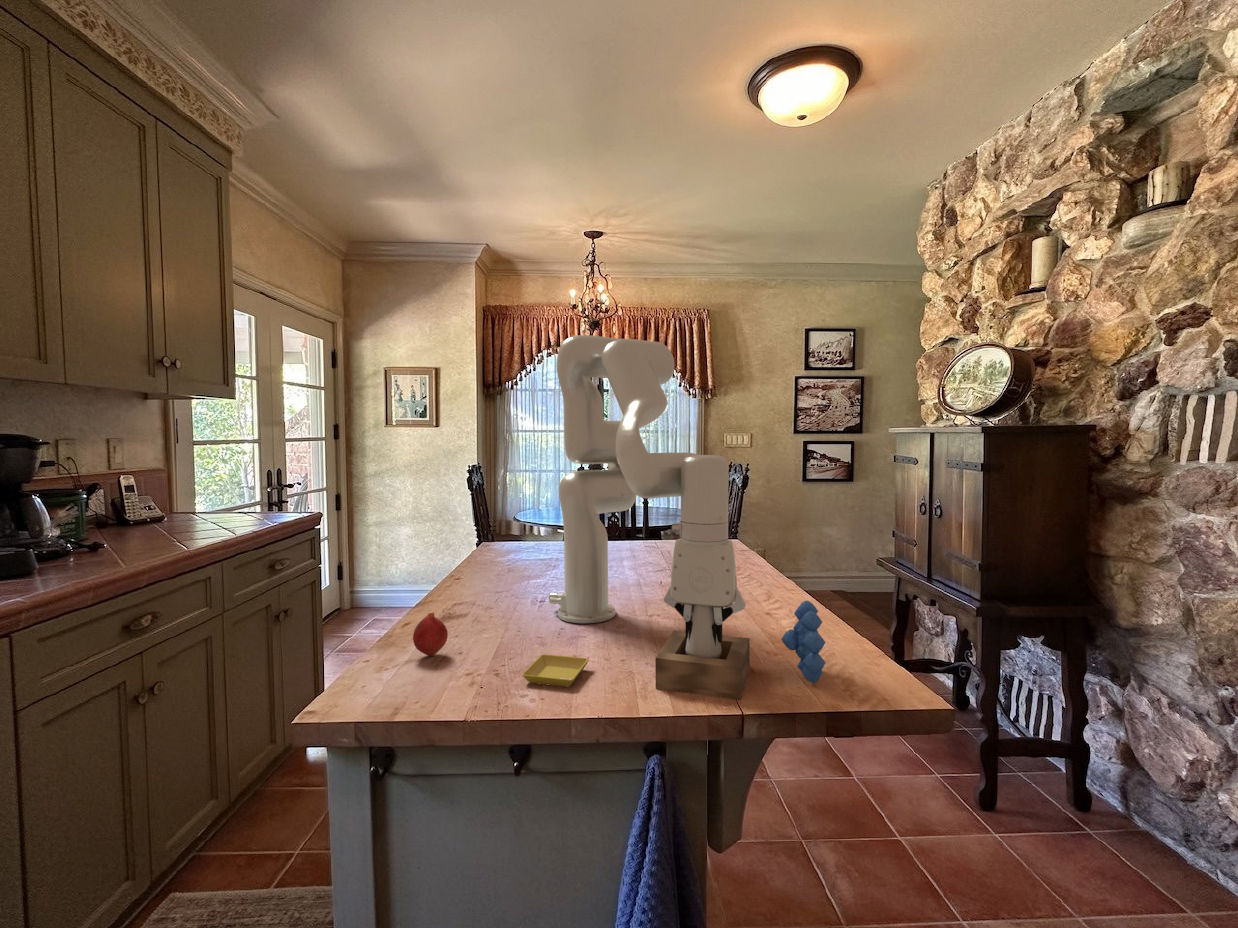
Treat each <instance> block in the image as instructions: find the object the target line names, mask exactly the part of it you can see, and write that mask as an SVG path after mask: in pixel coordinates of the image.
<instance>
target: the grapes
mask: <svg viewBox="0 0 1238 928" xmlns="http://www.w3.org/2000/svg"><path fill="white" fill-rule="evenodd" d="M818 613H819V609H818V608H817V607H816V605H814V604H813V602H811V601H809V600H804V601H802V602H801V603H800V605H799V606H798V607H797V608H796V609H795V611H794V613H793V614H794V616H795V618H796V619H797V620H798V621H797V622H796V623H795V624H794V626H793V628H790V629H788V630H786V631H785V633H784V634H783V636H782V637H781V638H780V640H781V642H782V643H783V644H784V645H785V647H786V648H787V649H788V650H790V651H794V652H795V654H796V655H797V657H798V658H799V662H798V664H797V668H798V669H799V671H800V672H801V674H802V675H803V677H804V678H805V679H806V680H807V682H809V683H811V684H815V683H817V682H818V681H819V679H820V678H821V677H822V675H823V674H824V672H823V668H824V667H825V666H826V661H825V660H824V658H823V657H822V656H821V655H820V654H819V653H820V651H822V649H823V648H824V646H825V645H826V641H825V640H824V638H823V637H822V635H821V633H819V631H818V629H820V627H821V625H822V624H823V621H822V619H821V618H820V617H819V615H818Z"/></svg>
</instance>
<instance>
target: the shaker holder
mask: <svg viewBox="0 0 1238 928" xmlns="http://www.w3.org/2000/svg"><path fill="white" fill-rule="evenodd" d="M750 639H751V638H749V637H742V636H741V637H740V636H731V635H723V634H722V642H721V648H722V650H721V656H720V658H719V659H715V658H707V657H698V656H690V655H687V654H686V643H687V639H686V630H685V631H684V630H673V631H672V633H671V634H670V635H669V637H668V638H667V640H666V642H665V643H664V645H663V646H662V648H661V649H660V651H659V652H658V653H657V655H656V656H655V662H654V663H655V666H654V667H655V689H658V690H664V691H665V690H666V691H671V692H680V693H687V694H694V695H701V696H708V697H714V698H715V697H716V698H723V699H729V700H736V701H737V700H739V701H742V698H743V694H744V693H743V692H744V690H745V686H746V682H747V677H748V673H749V669H750V665H751V664H750V654H751V651H750V648H751V647H750V645H751V644H750V641H751V640H750Z"/></svg>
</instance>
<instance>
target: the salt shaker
mask: <svg viewBox="0 0 1238 928" xmlns="http://www.w3.org/2000/svg"><path fill="white" fill-rule="evenodd" d="M691 616H692V617H691V621H692V624H693V625H692V631H691V635H690V640H689V632H688V637H687V643H686V654H687V655H690V656H698V657H707V658H715V659H719V658H720V656H721V650H722V648H721V643H719V642H718V639H717V634H716V646H715V642H714V638H713V631H712V625H713V624H714V608H713V607H710V606H699V605H693V609H692V615H691Z"/></svg>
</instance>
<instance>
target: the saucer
mask: <svg viewBox="0 0 1238 928" xmlns="http://www.w3.org/2000/svg"><path fill="white" fill-rule="evenodd" d="M589 660H590V659H589V658H586V657H578V656H577V657H576V656H567V655H559V654H557V655H555V654H541V655H539V656H538V658H536V660H535V661H533V663H532V664H530V665H529V666H528V667H527V668H526V669H525V670H524V671H523V673H522V674H521V676H522V677H523V678H524V679H525V680H526V681H527V682H529V683H530V682H531V683H530V684H535V683H540V684H539V685H544V684H549V685H548V686H553V685H557V686H556V687H562V686H570V687H571V686H572V684H573V683H574V682H575V680H577V677H578V676H579V675H580V674H581V673H582V671H583V670H584V669H585V668H586V665H587V664H588V662H589ZM560 678H573V679H571V680H569V679H560Z"/></svg>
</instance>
